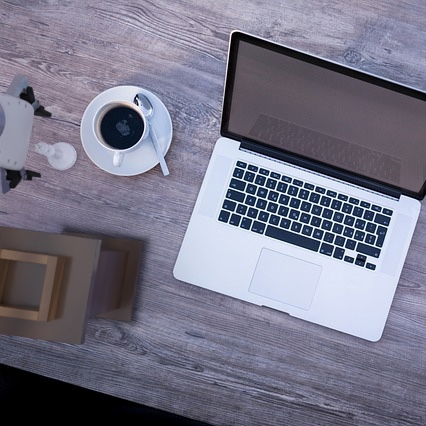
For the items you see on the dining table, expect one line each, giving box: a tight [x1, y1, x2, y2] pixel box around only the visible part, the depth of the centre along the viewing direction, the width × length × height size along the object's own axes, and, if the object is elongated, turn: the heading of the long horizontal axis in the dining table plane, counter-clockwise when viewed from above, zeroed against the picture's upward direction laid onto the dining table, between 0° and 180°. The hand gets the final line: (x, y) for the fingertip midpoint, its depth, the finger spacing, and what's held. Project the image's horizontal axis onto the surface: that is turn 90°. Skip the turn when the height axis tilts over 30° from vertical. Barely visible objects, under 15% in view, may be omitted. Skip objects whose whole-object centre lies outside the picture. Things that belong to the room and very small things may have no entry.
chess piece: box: [33, 141, 78, 171], centre depth 96 cm, size 5×5×10 cm
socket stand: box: [0, 225, 102, 346], centre depth 76 cm, size 16×14×4 cm
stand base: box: [61, 230, 145, 323], centre depth 90 cm, size 14×14×24 cm
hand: (37, 144), depth 91 cm, fingers open, 9 cm apart
